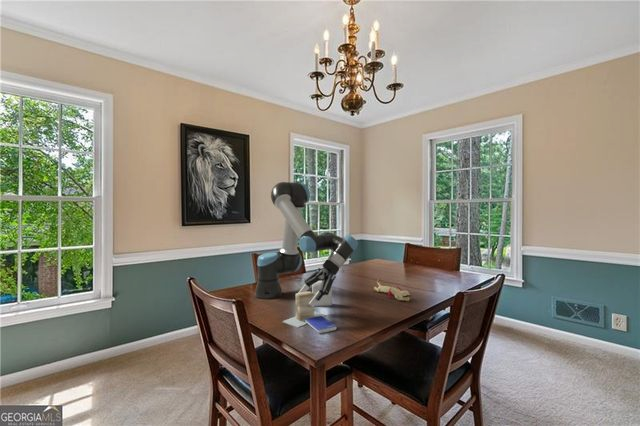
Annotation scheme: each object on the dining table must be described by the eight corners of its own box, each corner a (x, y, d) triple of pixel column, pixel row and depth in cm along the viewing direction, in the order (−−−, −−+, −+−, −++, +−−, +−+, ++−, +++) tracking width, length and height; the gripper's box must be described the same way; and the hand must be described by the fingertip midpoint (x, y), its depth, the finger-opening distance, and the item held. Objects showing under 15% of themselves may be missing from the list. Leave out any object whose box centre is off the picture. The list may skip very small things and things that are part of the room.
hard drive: (336, 325, 122) (322, 315, 133) (318, 329, 118) (305, 318, 129) (336, 329, 122) (322, 318, 133) (318, 333, 118) (305, 322, 129)
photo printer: (312, 306, 150) (311, 282, 150) (312, 303, 155) (312, 279, 154) (332, 306, 150) (332, 281, 150) (332, 303, 154) (332, 279, 154)
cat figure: (370, 294, 174) (402, 302, 152) (369, 279, 174) (401, 285, 153) (383, 291, 179) (416, 299, 157) (383, 277, 179) (415, 282, 157)
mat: (282, 322, 130) (282, 321, 130) (311, 311, 144) (311, 310, 144) (297, 327, 124) (297, 327, 124) (326, 315, 137) (326, 314, 137)
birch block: (295, 318, 134) (295, 293, 134) (309, 315, 137) (309, 291, 137) (299, 321, 130) (299, 295, 130) (313, 317, 134) (313, 293, 133)
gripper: (353, 274, 130) (323, 315, 123) (326, 264, 152) (299, 298, 146) (342, 263, 127) (311, 304, 121) (316, 254, 149) (288, 289, 143)
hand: (304, 301), depth 133 cm, fingers open, 13 cm apart
